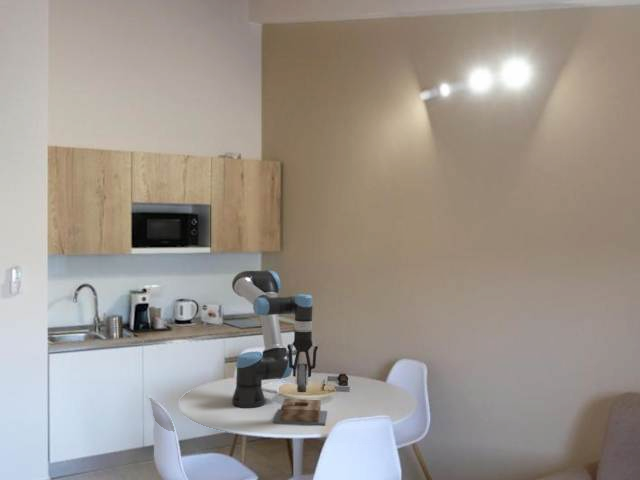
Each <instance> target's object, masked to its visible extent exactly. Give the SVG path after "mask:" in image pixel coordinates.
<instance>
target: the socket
mask: <svg viewBox="0 0 640 480" xmlns="http://www.w3.org/2000/svg"><path fill="white" fill-rule="evenodd" d="M321 402H322V400H321V399H305V398H304V399H302V398H301V399H300V398H284V400H283V401H282V404H281V407H280V408H278V409H277V410H276V413H275V415H274V417H273V420H272V423H273V424H285V425H287V424H288V425H310V426H326V423H327V418H328V417H327V416H328V410H321V405H322V403H321Z"/></svg>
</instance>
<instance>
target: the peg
mask: <svg viewBox="0 0 640 480" xmlns="http://www.w3.org/2000/svg"><path fill="white" fill-rule="evenodd" d="M297 368H298V375H297V387H296V392H297V393H307V385H306V370H307V369H308V365H307V362H297Z"/></svg>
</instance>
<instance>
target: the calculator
mask: <svg viewBox="0 0 640 480" xmlns="http://www.w3.org/2000/svg"><path fill="white" fill-rule="evenodd" d="M291 383H295V382H293V381H287V380H284V379H283V380H282V379H276V380H274V381H272V382H268V383H265V384H261V387H262V391H263V392H269V393H274V394H279V387H280V386H282V385H284V384H291Z"/></svg>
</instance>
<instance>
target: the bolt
mask: <svg viewBox="0 0 640 480" xmlns="http://www.w3.org/2000/svg"><path fill="white" fill-rule="evenodd" d="M337 376H338V378H337V379H338V381H337V382H338V386H348V382H347V380H348V377H347V376H348V375H347V374H346V373H339V374H338V375H337Z"/></svg>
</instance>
